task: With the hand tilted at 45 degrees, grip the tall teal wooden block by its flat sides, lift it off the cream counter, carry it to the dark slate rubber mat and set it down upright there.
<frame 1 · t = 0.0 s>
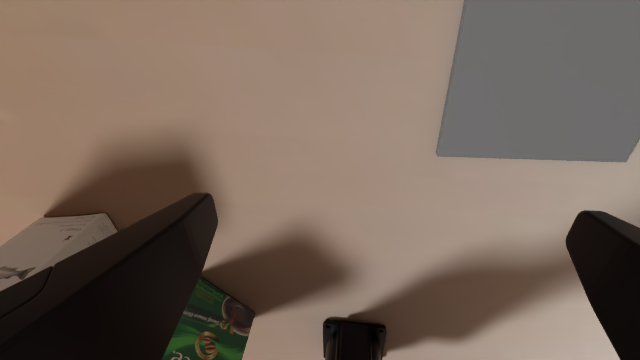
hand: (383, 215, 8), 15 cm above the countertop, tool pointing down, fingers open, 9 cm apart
coffee box: (223, 297, 34), on the countertop
supplement box: (93, 241, 32), on the countertop
slate mat: (557, 64, 19), on the countertop
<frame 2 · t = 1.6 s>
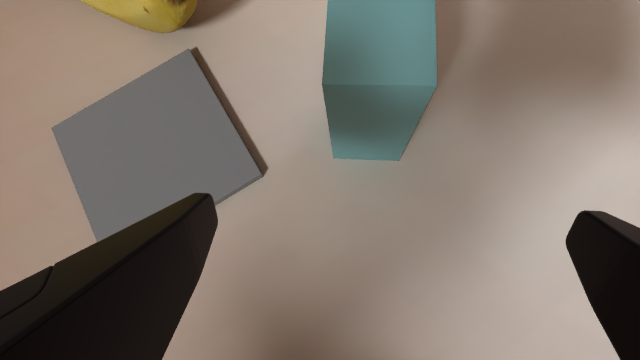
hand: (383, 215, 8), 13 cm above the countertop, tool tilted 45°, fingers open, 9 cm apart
slate mat: (155, 152, 24), on the countertop
teal block: (366, 129, 23), on the countertop
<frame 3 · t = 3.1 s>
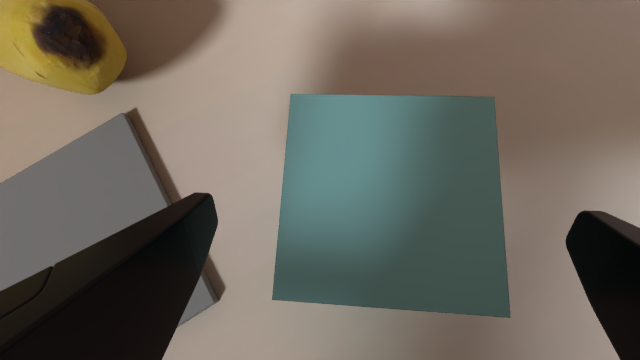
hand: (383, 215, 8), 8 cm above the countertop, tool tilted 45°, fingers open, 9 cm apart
slate mat: (72, 260, 17), on the countertop
banana: (41, 37, 21), on the countertop
teal block: (364, 233, 16), on the countertop
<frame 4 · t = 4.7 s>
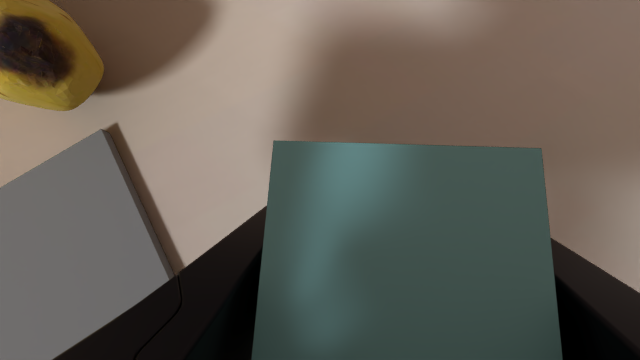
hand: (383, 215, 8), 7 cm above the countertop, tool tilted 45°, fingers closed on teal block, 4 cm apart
slate mat: (44, 293, 16), on the countertop
banana: (16, 44, 20), on the countertop
teal block: (367, 266, 15), on the countertop, touching gripper
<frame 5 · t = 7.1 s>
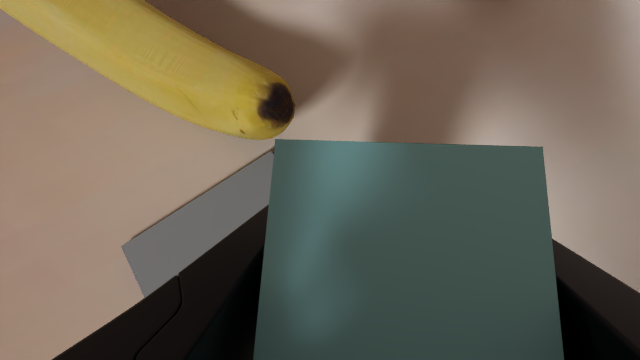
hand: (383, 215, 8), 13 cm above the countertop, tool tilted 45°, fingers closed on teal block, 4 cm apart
slate mat: (242, 273, 21), on the countertop
banana: (183, 84, 25), on the countertop
teal block: (367, 265, 15), point 6 cm above the countertop, touching gripper
when the fingers open (9 cm above the countertop, at t = 9.6 s): teal block drops 1 cm, resting on slate mat.
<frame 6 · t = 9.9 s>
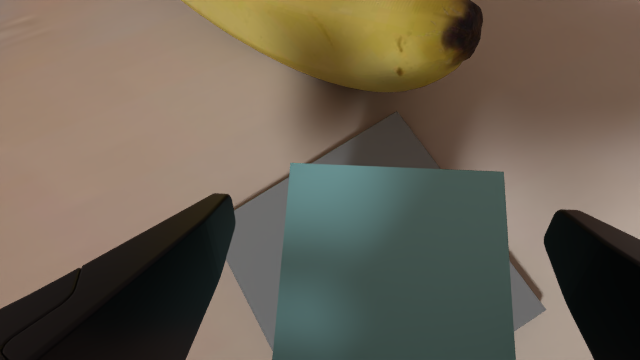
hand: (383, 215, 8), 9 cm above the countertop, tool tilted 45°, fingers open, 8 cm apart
slate mat: (364, 264, 17), on the countertop
banana: (275, 33, 21), on the countertop
teal block: (366, 264, 16), point 1 cm above the countertop, touching slate mat
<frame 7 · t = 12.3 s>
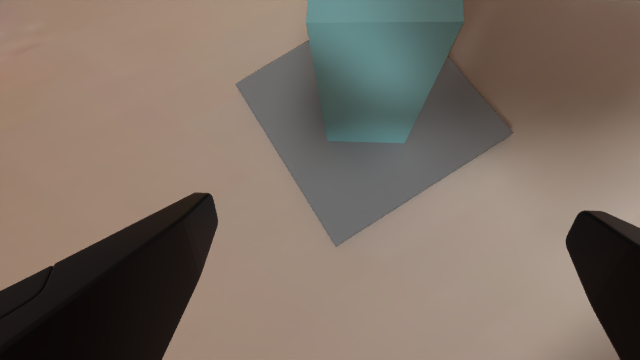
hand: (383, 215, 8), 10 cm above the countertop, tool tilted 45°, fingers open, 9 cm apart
slate mat: (365, 111, 20), on the countertop
teal block: (366, 106, 20), point 1 cm above the countertop, touching slate mat
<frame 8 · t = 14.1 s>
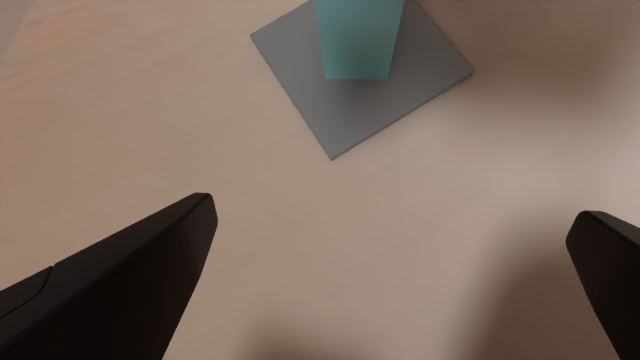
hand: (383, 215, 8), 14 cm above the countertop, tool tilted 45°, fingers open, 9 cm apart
slate mat: (356, 56, 25), on the countertop
teal block: (357, 51, 24), point 1 cm above the countertop, touching slate mat
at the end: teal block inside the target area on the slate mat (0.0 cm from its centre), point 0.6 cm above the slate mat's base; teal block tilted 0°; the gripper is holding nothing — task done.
